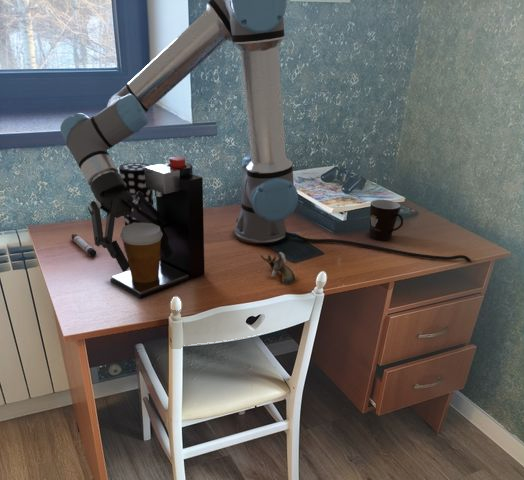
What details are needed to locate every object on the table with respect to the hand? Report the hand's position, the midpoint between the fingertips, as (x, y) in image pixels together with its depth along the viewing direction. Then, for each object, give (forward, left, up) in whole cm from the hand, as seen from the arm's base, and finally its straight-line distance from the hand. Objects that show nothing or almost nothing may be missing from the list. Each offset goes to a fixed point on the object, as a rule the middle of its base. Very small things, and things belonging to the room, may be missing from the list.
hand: (148, 262), depth 124 cm
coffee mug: (-52, -51, -7) cm, 73 cm away
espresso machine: (+1, -3, -6) cm, 7 cm away
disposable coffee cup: (+2, -2, -5) cm, 6 cm away
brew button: (-4, -11, +19) cm, 23 cm away
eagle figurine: (-28, -15, -7) cm, 33 cm away
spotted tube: (+15, -28, -7) cm, 33 cm away
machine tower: (-4, -11, -6) cm, 14 cm away
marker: (+27, -17, -7) cm, 33 cm away
